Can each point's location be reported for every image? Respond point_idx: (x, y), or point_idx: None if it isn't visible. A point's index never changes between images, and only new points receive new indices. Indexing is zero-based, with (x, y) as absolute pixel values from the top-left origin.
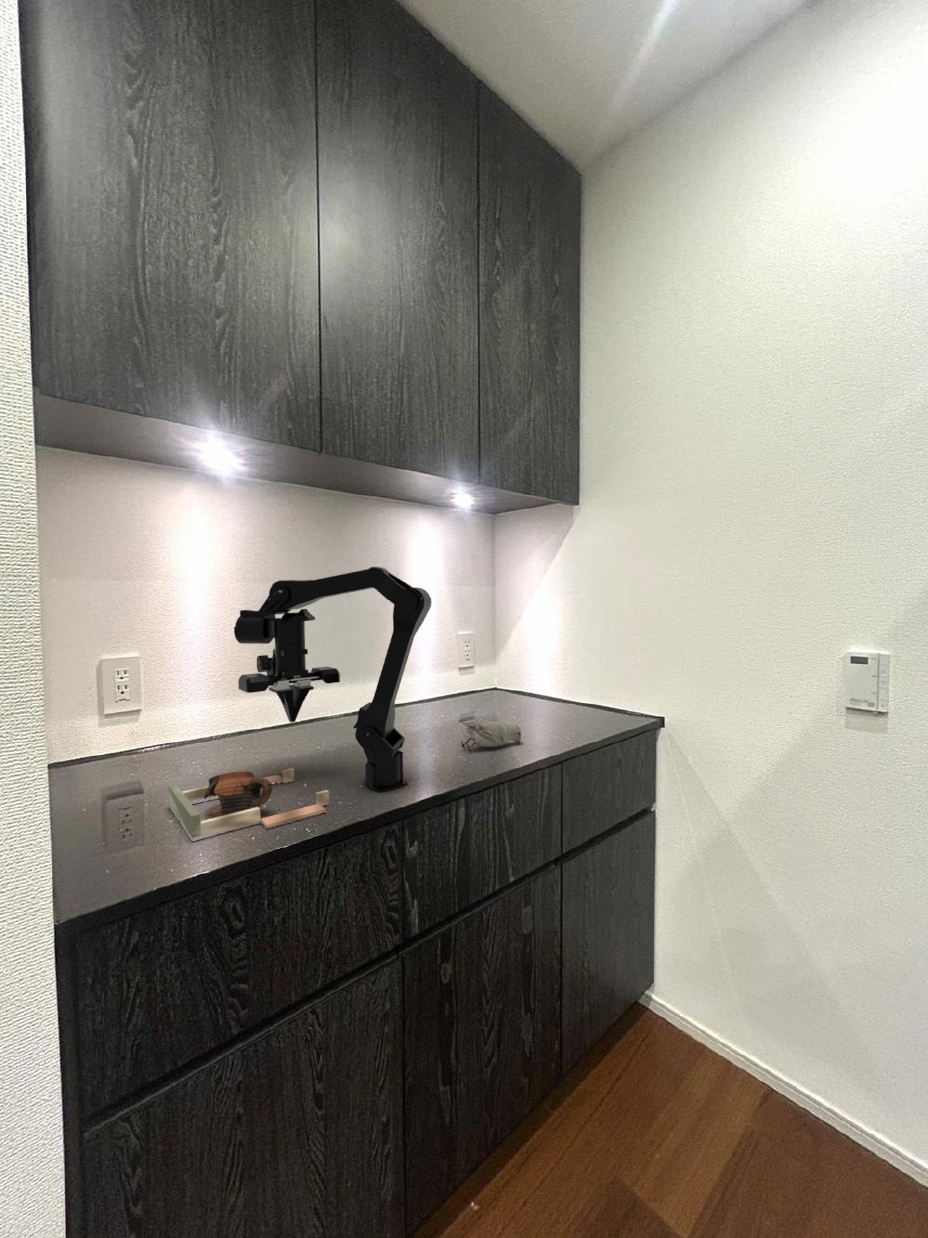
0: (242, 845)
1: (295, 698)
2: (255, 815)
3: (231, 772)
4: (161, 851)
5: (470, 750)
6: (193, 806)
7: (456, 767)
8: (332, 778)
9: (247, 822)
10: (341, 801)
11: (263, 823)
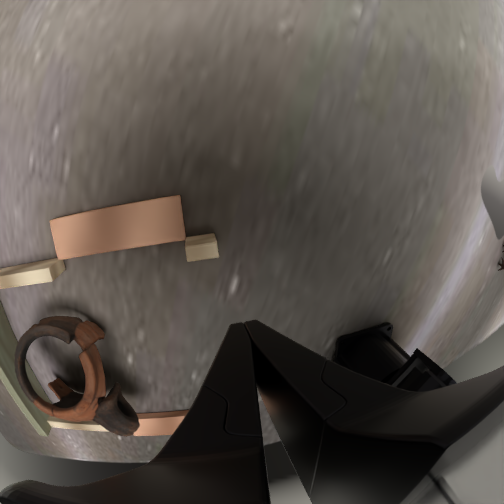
0: (109, 444)
1: (308, 471)
2: None
3: (53, 415)
4: None
5: (501, 269)
6: (28, 411)
7: (460, 316)
8: (305, 272)
9: None
10: None
11: None
